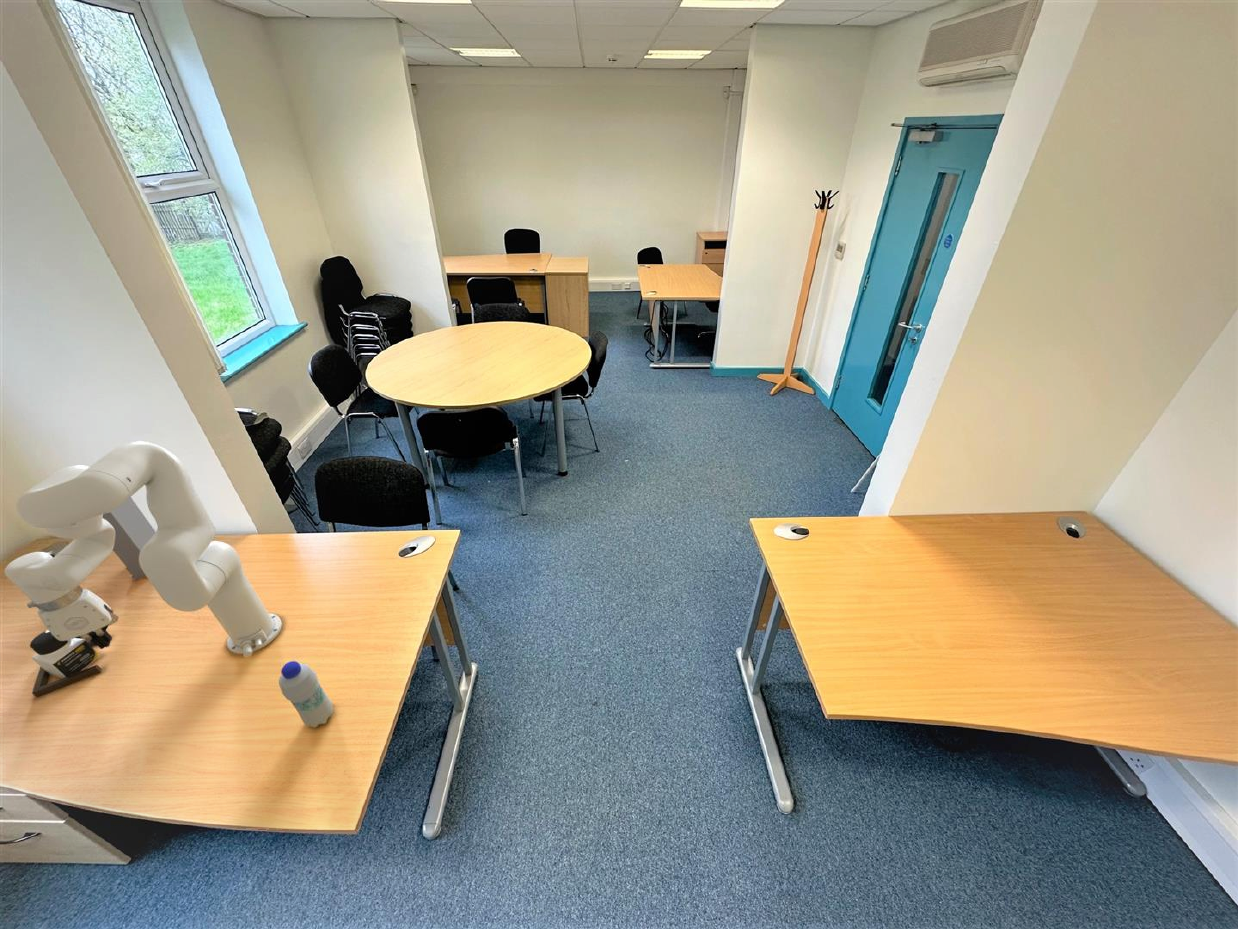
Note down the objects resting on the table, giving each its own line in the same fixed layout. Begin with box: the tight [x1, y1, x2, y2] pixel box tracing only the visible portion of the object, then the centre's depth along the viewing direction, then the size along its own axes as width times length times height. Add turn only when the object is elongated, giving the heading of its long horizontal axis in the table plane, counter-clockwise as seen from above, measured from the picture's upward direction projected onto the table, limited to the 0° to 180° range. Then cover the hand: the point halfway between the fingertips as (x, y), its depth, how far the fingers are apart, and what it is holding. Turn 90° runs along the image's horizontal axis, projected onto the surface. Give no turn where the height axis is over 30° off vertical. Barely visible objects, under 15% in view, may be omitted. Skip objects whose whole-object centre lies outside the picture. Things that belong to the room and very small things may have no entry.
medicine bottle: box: [29, 629, 101, 679], centre depth 122 cm, size 7×7×12 cm
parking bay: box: [31, 639, 103, 699], centre depth 124 cm, size 13×12×2 cm
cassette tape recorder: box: [103, 496, 156, 581], centre depth 149 cm, size 14×6×25 cm, turn 28°
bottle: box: [278, 660, 334, 728], centre depth 108 cm, size 7×7×20 cm
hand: (106, 643), depth 127 cm, fingers closed
